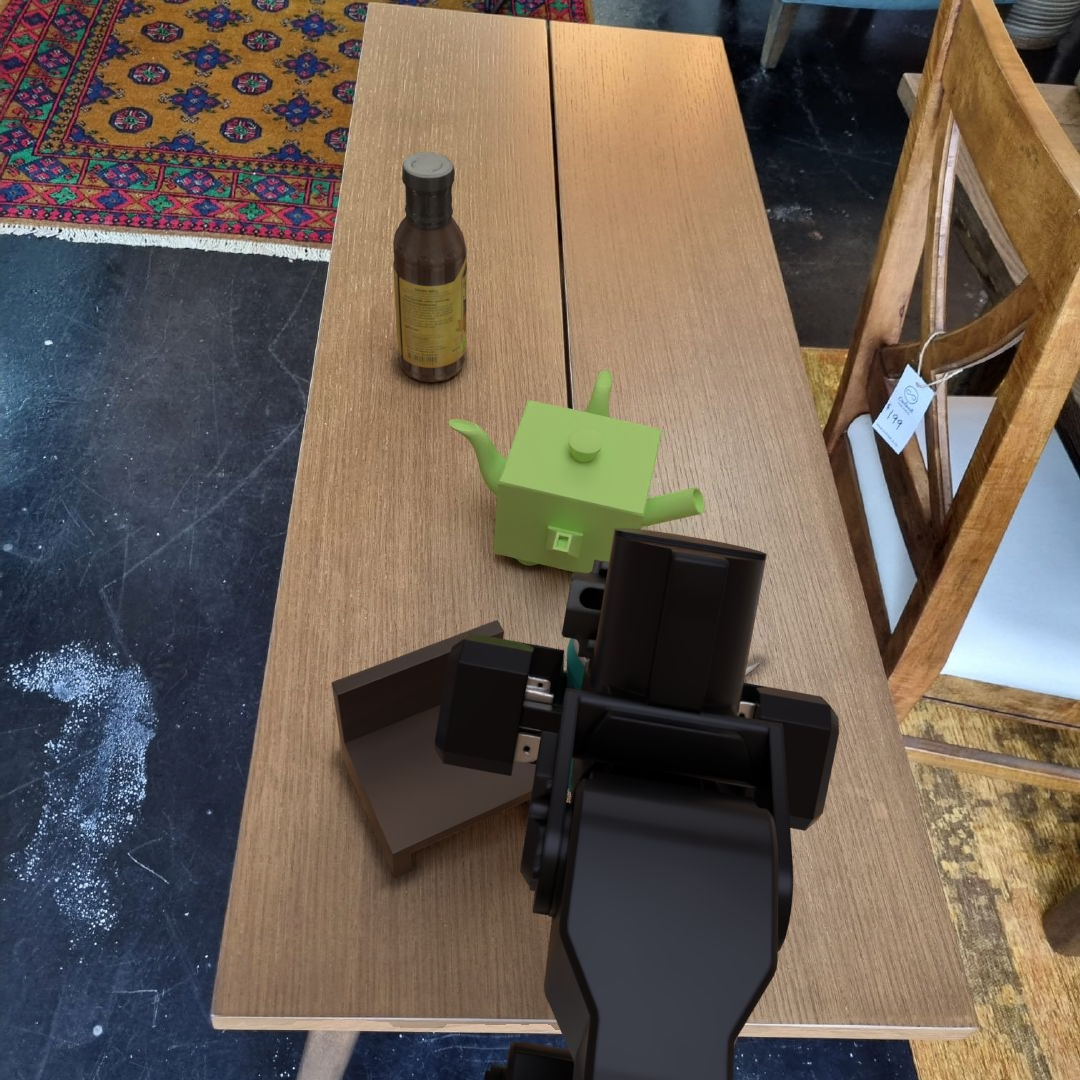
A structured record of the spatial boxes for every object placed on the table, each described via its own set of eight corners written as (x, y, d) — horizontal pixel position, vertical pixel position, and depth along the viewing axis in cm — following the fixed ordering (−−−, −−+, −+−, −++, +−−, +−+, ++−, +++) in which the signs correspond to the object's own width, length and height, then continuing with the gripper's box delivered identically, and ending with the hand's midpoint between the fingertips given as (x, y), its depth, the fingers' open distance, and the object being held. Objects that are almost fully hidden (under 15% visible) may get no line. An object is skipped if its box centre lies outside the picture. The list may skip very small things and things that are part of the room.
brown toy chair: (549, 807, 66) (565, 735, 58) (394, 879, 62) (388, 811, 54) (490, 699, 71) (497, 619, 63) (343, 759, 67) (331, 682, 59)
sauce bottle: (477, 373, 92) (486, 177, 77) (417, 394, 90) (414, 196, 74) (443, 333, 96) (445, 137, 80) (385, 352, 93) (375, 154, 78)
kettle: (445, 508, 82) (447, 407, 73) (585, 448, 87) (602, 348, 79) (548, 640, 74) (563, 545, 66) (693, 564, 80) (724, 468, 71)
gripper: (906, 627, 40) (818, 580, 56) (450, 546, 41) (489, 522, 56) (851, 891, 41) (780, 772, 57) (407, 807, 42) (457, 713, 57)
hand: (627, 690), depth 57 cm, fingers closed on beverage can, 6 cm apart
